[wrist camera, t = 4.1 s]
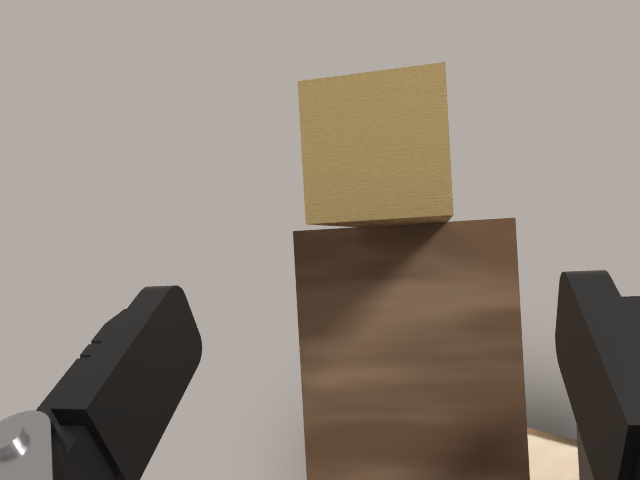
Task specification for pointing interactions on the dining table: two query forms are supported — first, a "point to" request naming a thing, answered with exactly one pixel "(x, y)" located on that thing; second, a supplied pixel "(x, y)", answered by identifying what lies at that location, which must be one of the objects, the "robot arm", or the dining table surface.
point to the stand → (412, 352)
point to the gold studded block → (376, 148)
